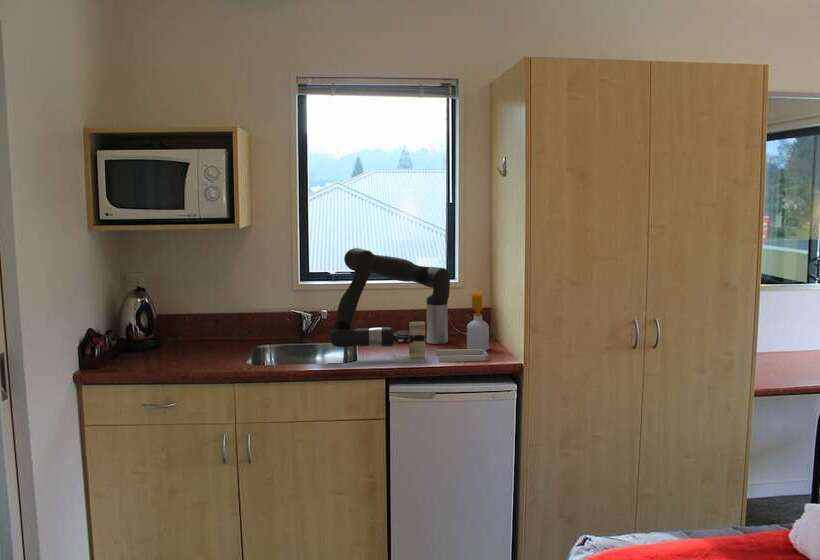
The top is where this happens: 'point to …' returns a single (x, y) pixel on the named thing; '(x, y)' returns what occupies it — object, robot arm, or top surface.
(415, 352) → the birch block
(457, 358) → the walled channel
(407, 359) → the grey mat
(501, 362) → the top surface
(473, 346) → the soap bottle
